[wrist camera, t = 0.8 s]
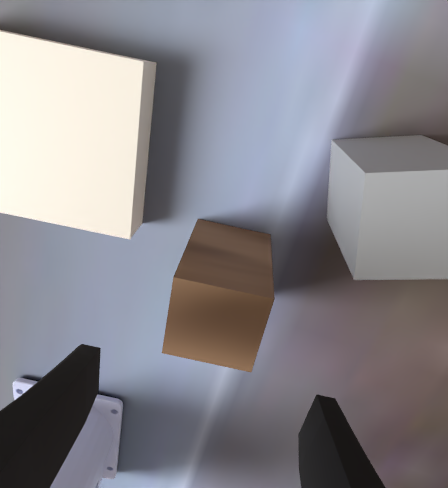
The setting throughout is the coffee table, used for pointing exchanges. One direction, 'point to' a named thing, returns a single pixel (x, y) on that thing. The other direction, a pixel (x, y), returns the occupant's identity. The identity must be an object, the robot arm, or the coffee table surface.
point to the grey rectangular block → (390, 206)
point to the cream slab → (74, 134)
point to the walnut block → (221, 296)
